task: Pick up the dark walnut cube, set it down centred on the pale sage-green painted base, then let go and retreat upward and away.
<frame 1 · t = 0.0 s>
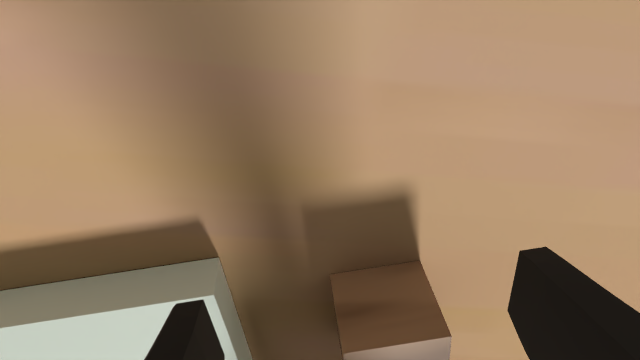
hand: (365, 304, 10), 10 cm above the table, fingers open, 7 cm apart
walnut cube: (376, 296, 25), on the table
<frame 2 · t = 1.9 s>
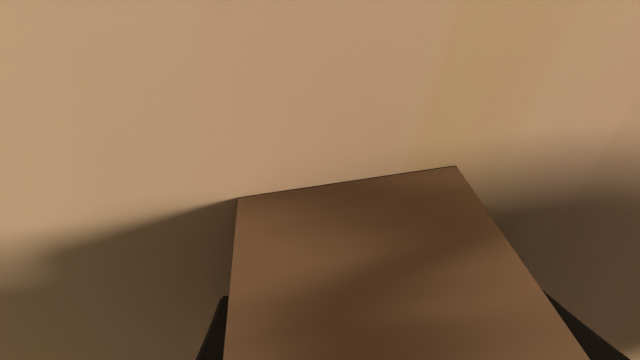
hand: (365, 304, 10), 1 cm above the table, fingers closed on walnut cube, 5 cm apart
walnut cube: (354, 261, 11), on the table, touching gripper
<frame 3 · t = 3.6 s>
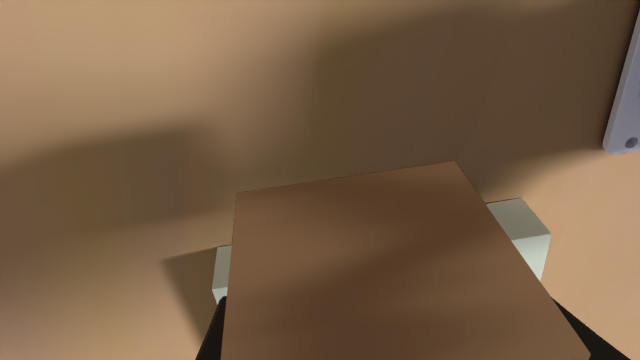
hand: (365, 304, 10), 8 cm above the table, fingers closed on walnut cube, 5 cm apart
base: (377, 321, 24), on the table
walnut cube: (353, 256, 11), point 7 cm above the table, touching gripper
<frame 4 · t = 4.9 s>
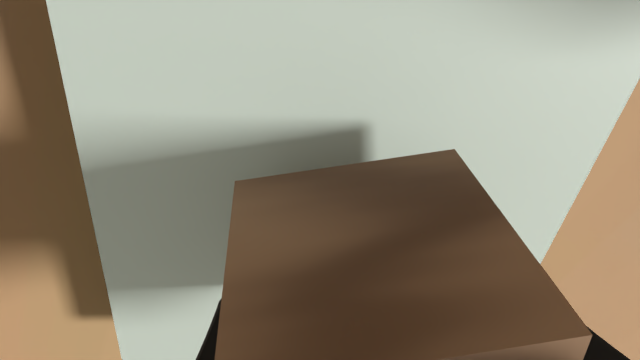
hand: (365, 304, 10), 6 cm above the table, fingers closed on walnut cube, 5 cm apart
base: (334, 171, 15), on the table
walnut cube: (352, 247, 11), point 4 cm above the table, touching gripper
when the fingers open (5 cm above the table, at t = 5.6 s): walnut cube stays where it is, resting on base.
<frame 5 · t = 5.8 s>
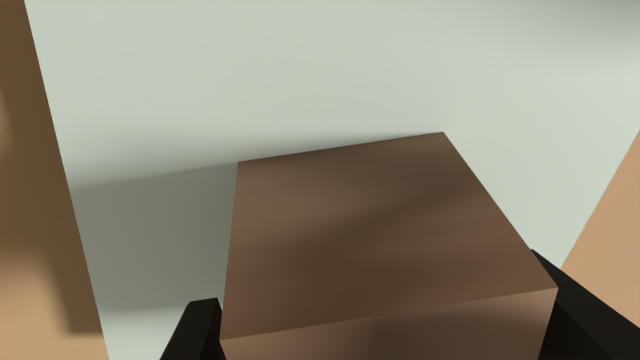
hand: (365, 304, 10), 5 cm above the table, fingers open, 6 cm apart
base: (336, 185, 14), on the table
walnut cube: (348, 225, 12), point 2 cm above the table, touching base
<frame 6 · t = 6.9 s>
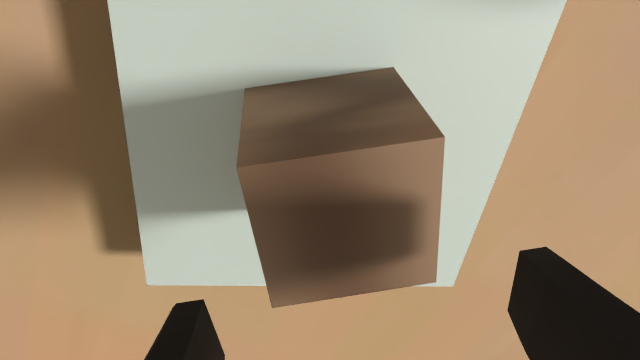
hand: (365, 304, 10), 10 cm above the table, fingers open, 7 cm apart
base: (320, 122, 18), on the table
walnut cube: (326, 143, 16), point 2 cm above the table, touching base
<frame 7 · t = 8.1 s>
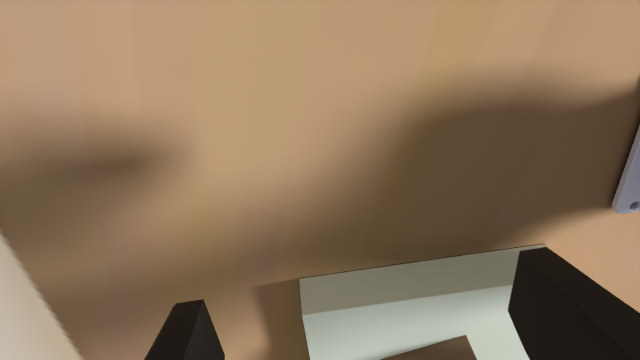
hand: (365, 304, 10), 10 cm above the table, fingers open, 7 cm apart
base: (419, 338, 28), on the table
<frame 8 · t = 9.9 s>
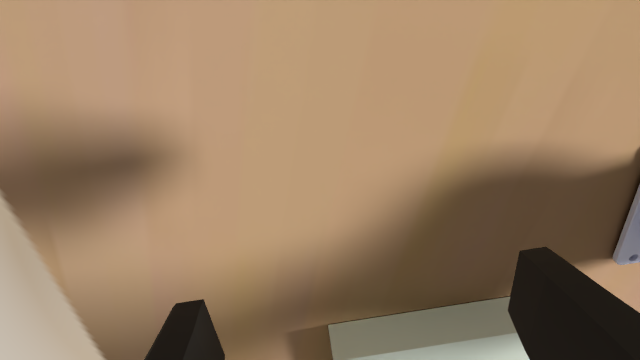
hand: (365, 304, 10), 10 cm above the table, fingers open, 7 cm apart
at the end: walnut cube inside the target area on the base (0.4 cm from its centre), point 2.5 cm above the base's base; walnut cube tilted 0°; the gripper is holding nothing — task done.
